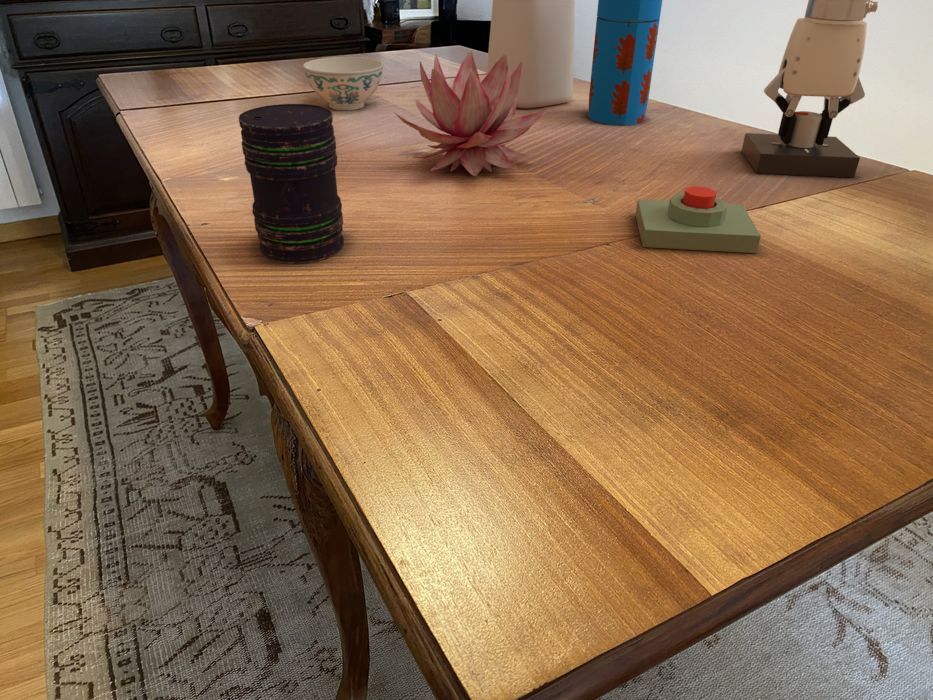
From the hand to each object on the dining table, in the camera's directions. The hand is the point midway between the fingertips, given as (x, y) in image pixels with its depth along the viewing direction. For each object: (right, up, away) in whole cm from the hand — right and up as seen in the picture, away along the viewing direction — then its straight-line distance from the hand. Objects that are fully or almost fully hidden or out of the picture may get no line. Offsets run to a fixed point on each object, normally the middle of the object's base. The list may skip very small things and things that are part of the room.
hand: (801, 140), depth 108 cm
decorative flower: (-51, -4, 0) cm, 51 cm away
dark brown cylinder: (-70, -20, -25) cm, 77 cm away
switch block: (-23, -18, -21) cm, 36 cm away
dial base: (0, -3, +2) cm, 4 cm away
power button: (-23, -15, -23) cm, 36 cm away
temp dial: (0, 0, 0) cm, 1 cm away
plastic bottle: (-38, +19, +36) cm, 56 cm away
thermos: (-23, +11, +25) cm, 36 cm away
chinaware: (-75, +16, +30) cm, 82 cm away
